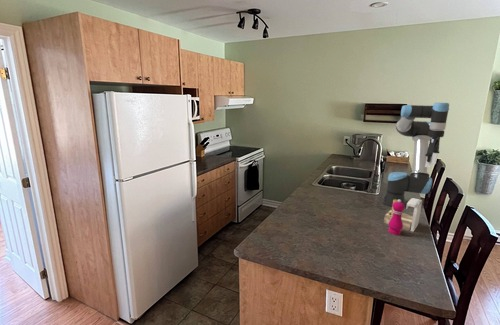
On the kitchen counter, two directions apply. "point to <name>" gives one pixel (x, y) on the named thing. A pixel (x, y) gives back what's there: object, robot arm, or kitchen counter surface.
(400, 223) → the pepper mill
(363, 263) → the kitchen counter surface
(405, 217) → the socket block
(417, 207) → the awning
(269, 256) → the kitchen counter surface
